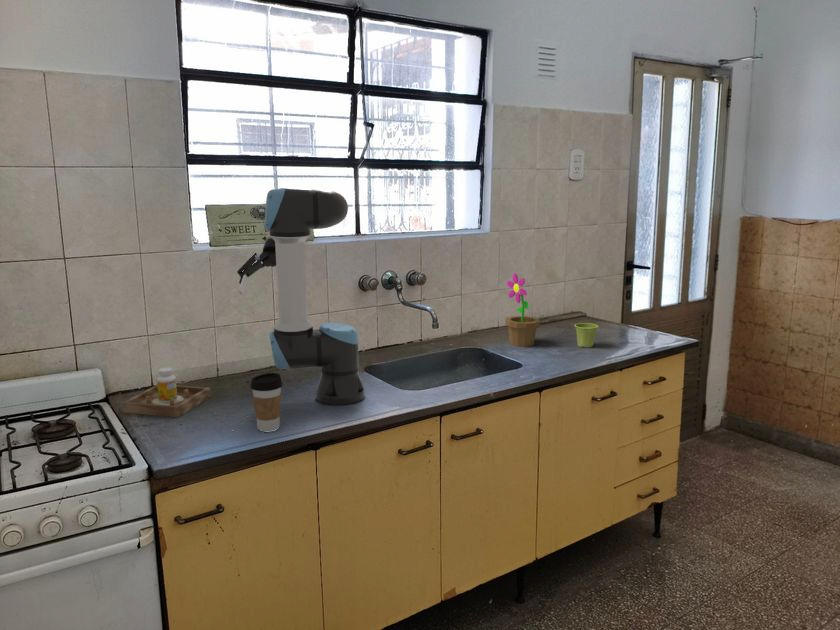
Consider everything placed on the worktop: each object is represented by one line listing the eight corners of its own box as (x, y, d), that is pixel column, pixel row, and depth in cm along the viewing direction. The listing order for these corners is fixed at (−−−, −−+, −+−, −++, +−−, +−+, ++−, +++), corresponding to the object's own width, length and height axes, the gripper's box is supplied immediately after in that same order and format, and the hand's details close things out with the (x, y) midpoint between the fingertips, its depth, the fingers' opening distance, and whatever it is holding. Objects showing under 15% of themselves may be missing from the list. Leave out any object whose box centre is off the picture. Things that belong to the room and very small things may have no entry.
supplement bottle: (155, 400, 196) (152, 369, 194) (171, 395, 200) (169, 365, 198) (163, 404, 193) (161, 373, 191) (180, 399, 197) (178, 369, 194)
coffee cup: (289, 430, 177) (287, 377, 174) (259, 437, 172) (257, 383, 169) (277, 420, 184) (274, 370, 181) (248, 427, 179) (245, 375, 176)
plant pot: (580, 349, 260) (581, 328, 258) (569, 343, 269) (570, 323, 267) (601, 348, 262) (602, 327, 260) (589, 342, 271) (591, 322, 269)
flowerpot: (497, 342, 271) (499, 271, 264) (523, 337, 278) (525, 268, 272) (520, 349, 259) (523, 276, 253) (546, 344, 267) (549, 273, 260)
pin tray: (159, 392, 207) (158, 382, 206) (210, 396, 203) (209, 385, 203) (123, 412, 190) (121, 400, 189) (178, 417, 186) (177, 405, 185)
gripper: (312, 251, 227) (297, 301, 216) (247, 249, 232) (229, 298, 221) (306, 237, 221) (290, 288, 210) (239, 236, 226) (220, 285, 215)
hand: (259, 293), depth 216 cm, fingers open, 13 cm apart
